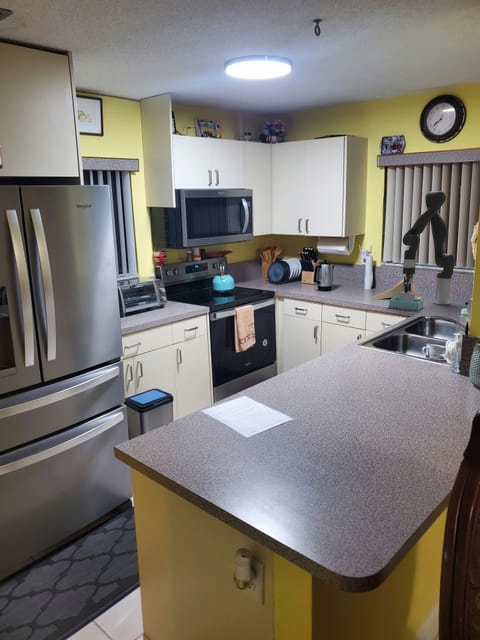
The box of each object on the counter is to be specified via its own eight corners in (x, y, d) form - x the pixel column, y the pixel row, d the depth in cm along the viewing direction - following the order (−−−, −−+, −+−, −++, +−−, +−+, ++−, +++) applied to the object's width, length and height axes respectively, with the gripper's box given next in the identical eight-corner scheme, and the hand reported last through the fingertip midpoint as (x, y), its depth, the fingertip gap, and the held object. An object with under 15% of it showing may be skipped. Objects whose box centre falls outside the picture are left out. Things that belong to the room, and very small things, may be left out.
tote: (394, 304, 326) (395, 296, 325) (422, 306, 317) (423, 299, 316) (388, 307, 313) (389, 300, 312) (417, 310, 304) (418, 302, 303)
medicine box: (413, 306, 314) (414, 292, 312) (410, 307, 311) (412, 293, 309) (401, 304, 319) (402, 291, 317) (398, 305, 315) (399, 292, 313)
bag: (416, 302, 355) (367, 298, 359) (419, 278, 353) (370, 274, 357) (423, 304, 336) (372, 300, 340) (426, 279, 334) (374, 275, 338)
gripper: (405, 264, 317) (404, 289, 321) (400, 267, 305) (398, 292, 309) (417, 265, 313) (416, 290, 317) (412, 267, 301) (411, 293, 305)
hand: (407, 291), depth 313 cm, fingers open, 8 cm apart
